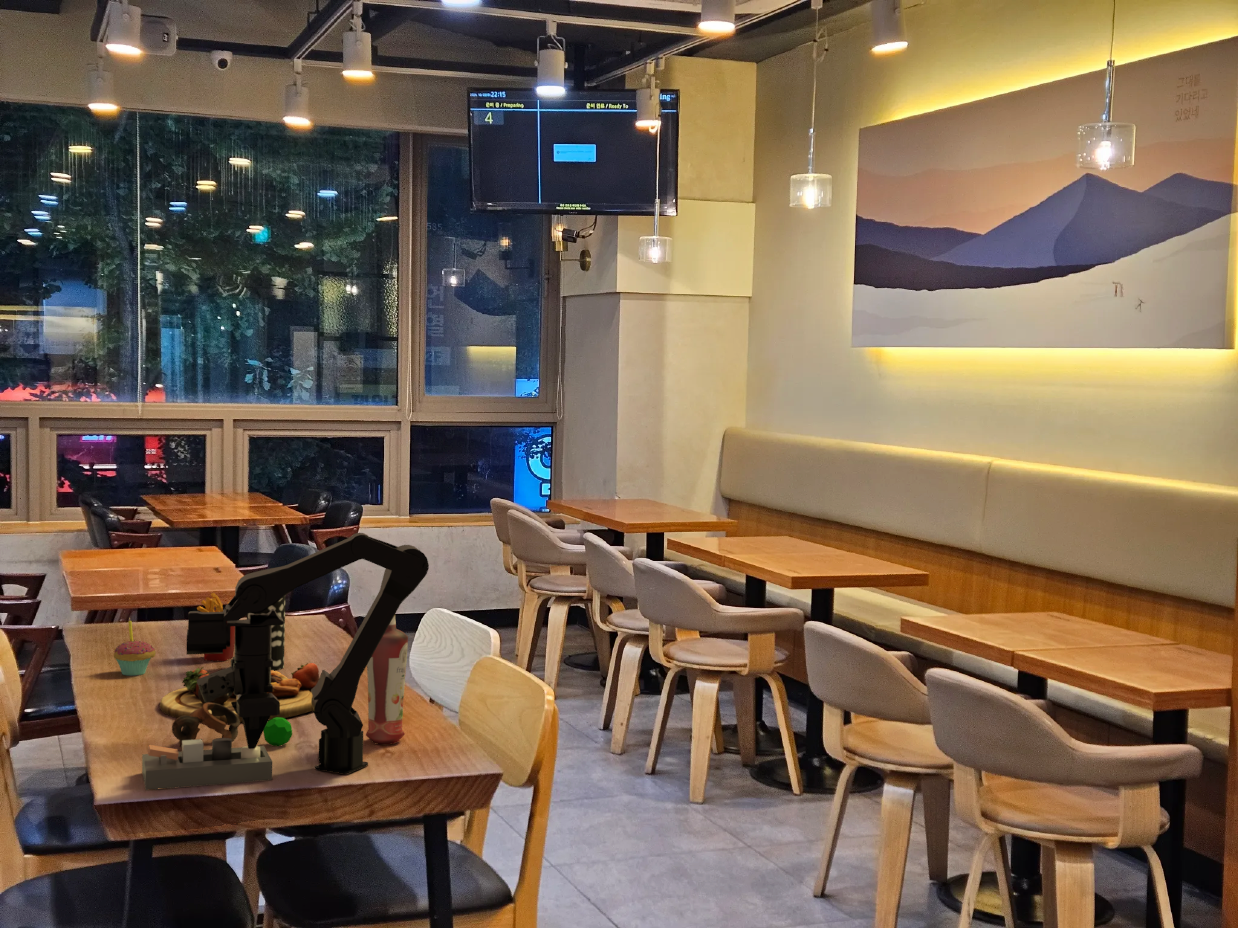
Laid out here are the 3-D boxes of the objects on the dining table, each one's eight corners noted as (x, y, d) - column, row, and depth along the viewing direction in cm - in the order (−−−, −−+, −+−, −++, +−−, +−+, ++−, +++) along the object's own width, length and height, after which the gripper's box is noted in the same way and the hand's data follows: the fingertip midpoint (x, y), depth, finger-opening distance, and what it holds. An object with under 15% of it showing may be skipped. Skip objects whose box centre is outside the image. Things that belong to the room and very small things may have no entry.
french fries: (238, 656, 308) (239, 592, 308) (224, 663, 300) (225, 597, 300) (202, 654, 309) (203, 591, 309) (187, 661, 301) (188, 596, 300)
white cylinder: (258, 762, 216) (258, 744, 216) (261, 767, 213) (261, 749, 213) (239, 764, 215) (240, 746, 215) (241, 769, 212) (242, 750, 212)
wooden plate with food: (320, 685, 282) (320, 647, 281) (335, 718, 251) (335, 675, 251) (162, 694, 272) (161, 654, 272) (157, 730, 241) (157, 685, 241)
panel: (263, 763, 220) (263, 737, 219) (272, 779, 210) (272, 752, 210) (142, 772, 212) (142, 745, 212) (145, 790, 203) (146, 761, 203)
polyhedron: (297, 745, 232) (298, 718, 232) (273, 750, 228) (274, 723, 228) (281, 739, 235) (281, 713, 235) (257, 744, 231) (257, 717, 231)
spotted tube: (249, 663, 300) (250, 576, 300) (286, 664, 301) (288, 576, 300) (242, 671, 292) (244, 581, 291) (281, 671, 293) (282, 581, 292)
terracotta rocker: (175, 755, 211) (177, 749, 211) (177, 759, 208) (178, 753, 208) (147, 750, 209) (149, 744, 209) (148, 755, 206) (150, 748, 206)
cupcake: (105, 673, 286) (105, 618, 285) (139, 667, 293) (139, 613, 292) (129, 679, 281) (130, 623, 280) (163, 673, 288) (164, 618, 287)
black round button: (230, 755, 214) (230, 737, 214) (232, 760, 211) (232, 741, 211) (211, 756, 213) (211, 738, 213) (212, 761, 210) (213, 742, 210)
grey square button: (201, 757, 212) (201, 739, 212) (203, 762, 210) (203, 743, 209) (181, 758, 211) (181, 740, 211) (183, 763, 208) (183, 744, 208)
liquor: (398, 747, 232) (401, 589, 231) (358, 745, 233) (361, 587, 232) (411, 737, 239) (414, 584, 238) (372, 734, 240) (375, 581, 239)
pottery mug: (203, 737, 237) (226, 699, 237) (231, 769, 232) (255, 730, 232) (150, 733, 227) (174, 693, 226) (178, 767, 222) (203, 726, 221)
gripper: (195, 644, 219) (194, 737, 219) (206, 666, 201) (205, 767, 202) (264, 641, 223) (263, 732, 224) (281, 662, 206) (279, 761, 206)
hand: (251, 748), depth 214 cm, fingers closed, pressing on white cylinder
